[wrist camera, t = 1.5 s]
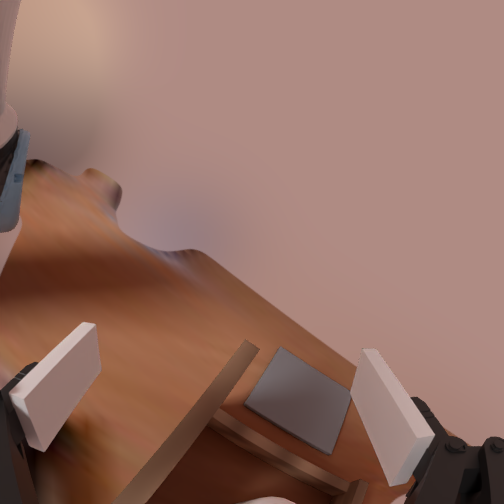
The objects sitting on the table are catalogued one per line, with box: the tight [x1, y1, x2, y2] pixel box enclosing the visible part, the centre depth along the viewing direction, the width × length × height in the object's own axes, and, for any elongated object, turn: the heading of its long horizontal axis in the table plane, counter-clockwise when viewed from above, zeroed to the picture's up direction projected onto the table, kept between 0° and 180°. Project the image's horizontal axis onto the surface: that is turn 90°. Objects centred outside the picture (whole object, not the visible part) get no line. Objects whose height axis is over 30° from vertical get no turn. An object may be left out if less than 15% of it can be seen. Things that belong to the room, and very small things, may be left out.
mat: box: [244, 346, 351, 455], centre depth 42 cm, size 14×12×1 cm
